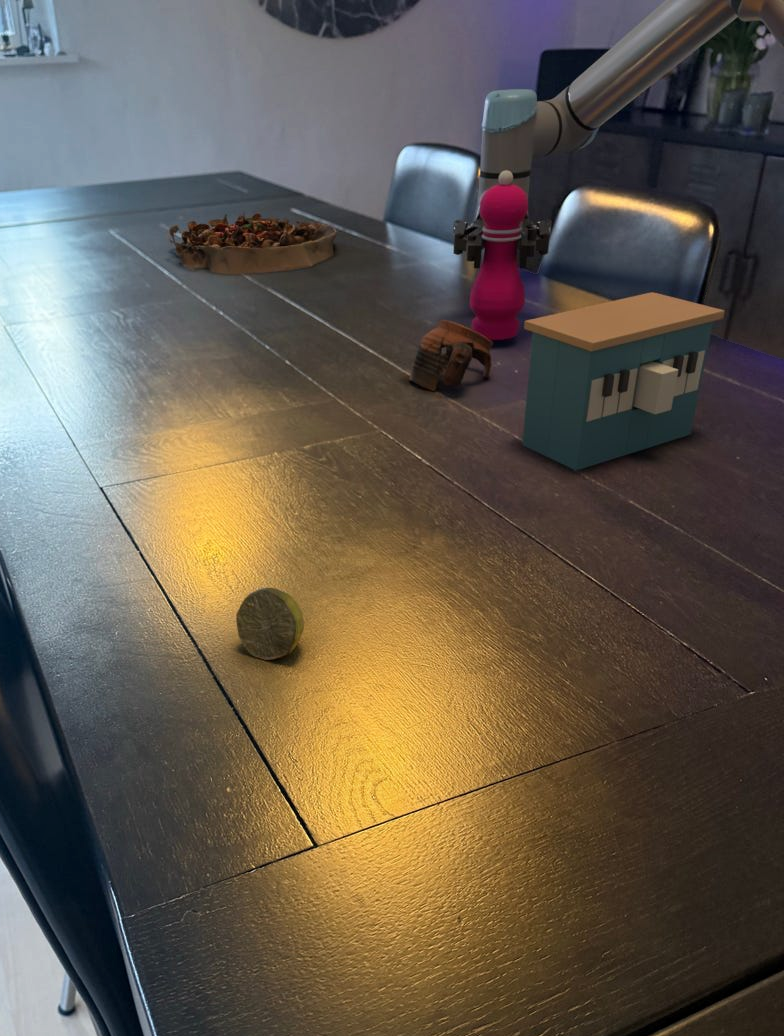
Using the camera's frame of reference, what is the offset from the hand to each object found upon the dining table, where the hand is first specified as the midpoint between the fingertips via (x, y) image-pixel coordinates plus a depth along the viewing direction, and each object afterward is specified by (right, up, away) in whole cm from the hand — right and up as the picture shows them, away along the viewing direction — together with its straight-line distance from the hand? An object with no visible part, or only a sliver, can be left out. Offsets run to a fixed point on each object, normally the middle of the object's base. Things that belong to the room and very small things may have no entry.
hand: (500, 256), depth 116 cm
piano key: (+9, -25, -25) cm, 36 cm away
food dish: (-34, +28, +65) cm, 79 cm away
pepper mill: (+1, -6, +11) cm, 12 cm away
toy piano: (+7, -27, -19) cm, 33 cm away
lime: (-27, -49, -48) cm, 73 cm away
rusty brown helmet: (-7, -16, -2) cm, 18 cm away
